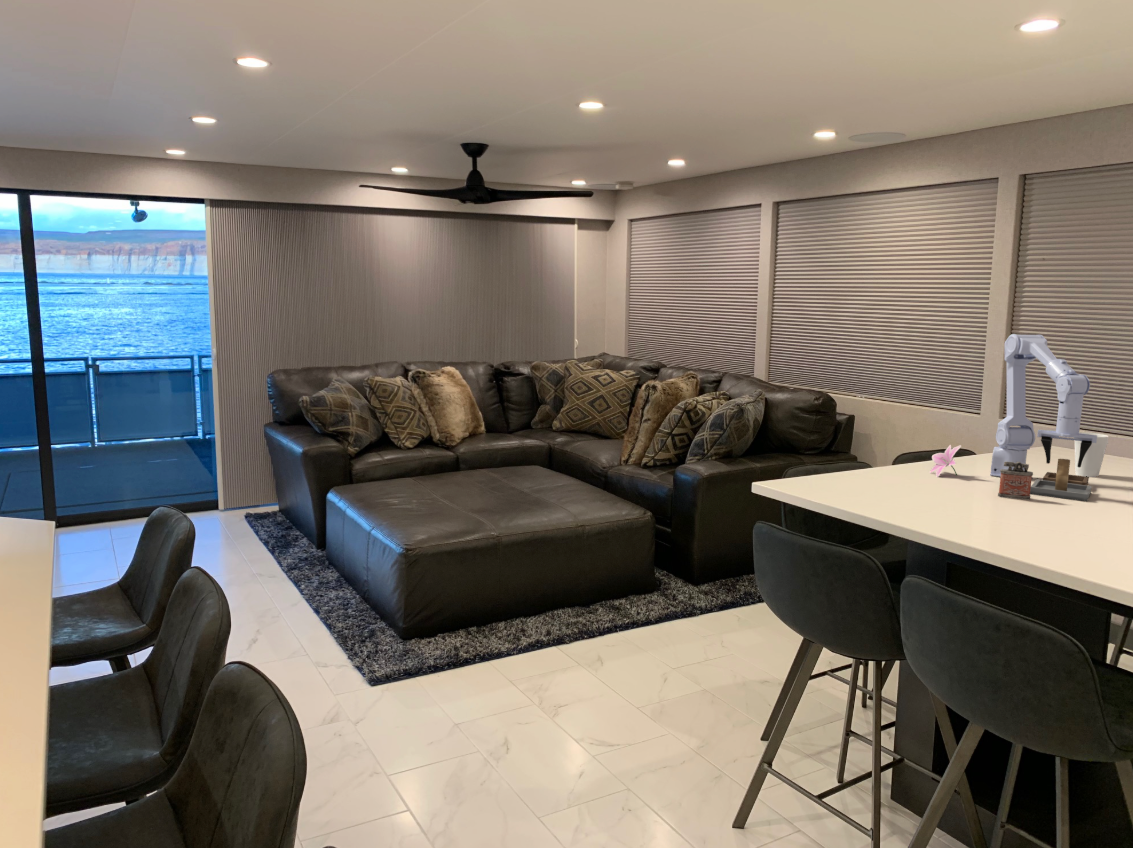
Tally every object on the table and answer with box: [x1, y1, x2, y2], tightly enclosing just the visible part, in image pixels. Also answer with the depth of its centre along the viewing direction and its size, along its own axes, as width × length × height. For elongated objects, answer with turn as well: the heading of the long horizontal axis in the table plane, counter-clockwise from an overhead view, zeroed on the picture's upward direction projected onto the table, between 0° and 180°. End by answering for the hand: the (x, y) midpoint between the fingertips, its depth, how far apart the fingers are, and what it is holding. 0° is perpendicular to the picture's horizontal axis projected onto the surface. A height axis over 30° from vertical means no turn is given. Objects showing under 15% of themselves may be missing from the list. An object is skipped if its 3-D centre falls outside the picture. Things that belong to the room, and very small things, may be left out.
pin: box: [1055, 458, 1071, 491], centre depth 244 cm, size 3×3×9 cm
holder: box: [1042, 471, 1090, 486], centre depth 256 cm, size 11×11×2 cm
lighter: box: [997, 462, 1034, 501], centre depth 238 cm, size 8×3×10 cm, turn 71°
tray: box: [1030, 478, 1092, 503], centre depth 245 cm, size 14×14×2 cm
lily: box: [929, 444, 962, 478], centre depth 268 cm, size 12×12×10 cm
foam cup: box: [1073, 431, 1110, 478], centre depth 273 cm, size 10×9×13 cm
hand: (1063, 464), depth 244 cm, fingers open, 7 cm apart
